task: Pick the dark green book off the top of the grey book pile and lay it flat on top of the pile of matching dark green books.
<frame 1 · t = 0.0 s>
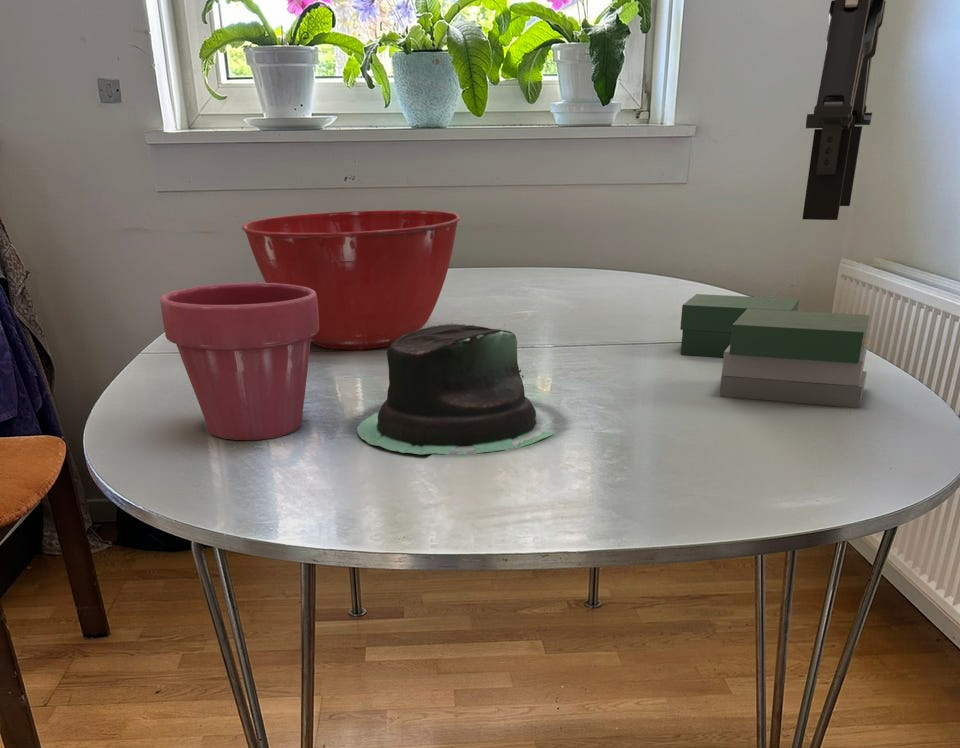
hand: (827, 212, 83), 19 cm above the table, tool pointing down, fingers open, 13 cm apart
grey pile: (790, 397, 101), on the table
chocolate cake: (459, 428, 93), on the table
green book: (797, 349, 98), point 5 cm above the table, touching grey pile
mixing bowl: (360, 341, 131), on the table
green pile: (738, 351, 121), on the table
flower pot: (256, 429, 94), on the table
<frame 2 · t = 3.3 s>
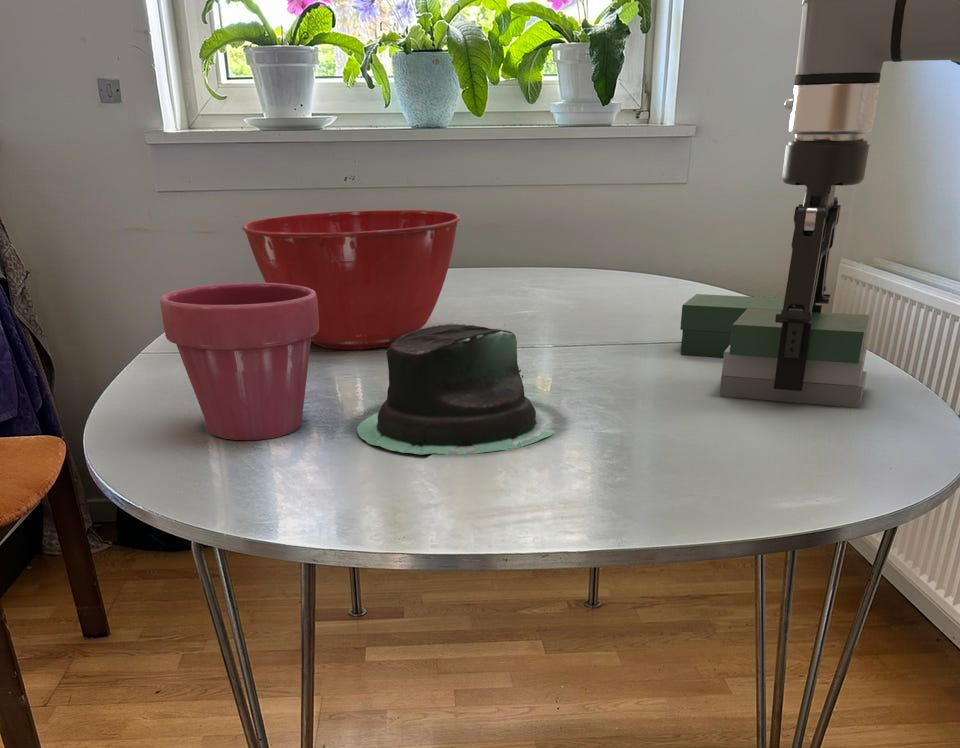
hand: (793, 377, 100), 2 cm above the table, tool pointing down, fingers closed on green book, 9 cm apart
green book: (797, 349, 98), point 5 cm above the table, touching grey pile, gripper
everything else where it was.
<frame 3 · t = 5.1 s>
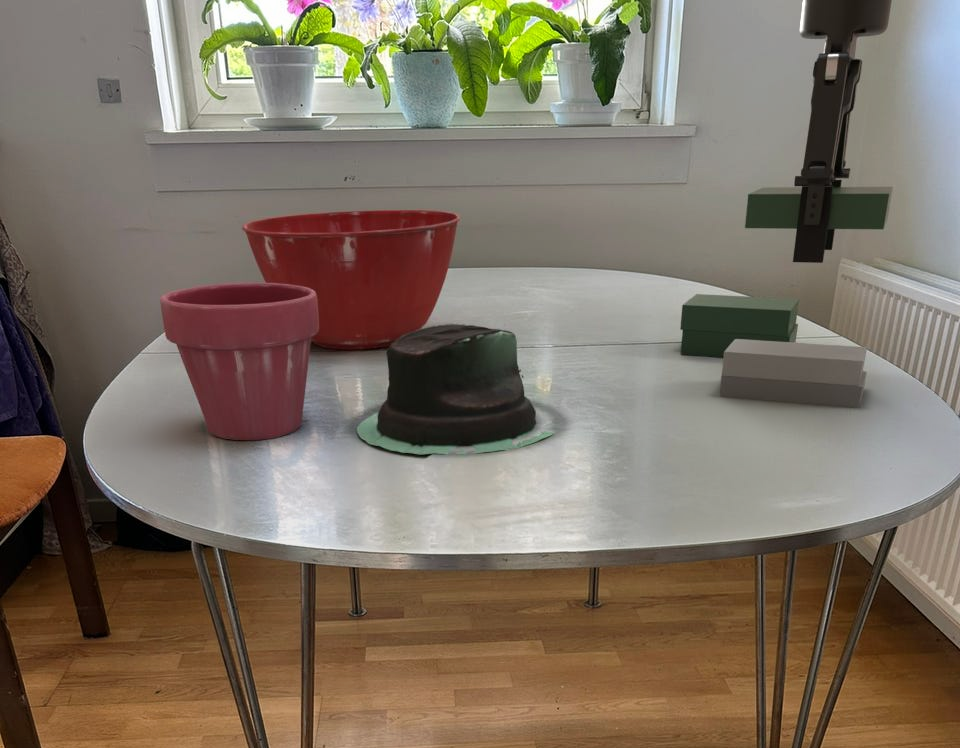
hand: (813, 255, 94), 14 cm above the table, tool pointing down, fingers closed on green book, 9 cm apart
green book: (817, 224, 93), point 17 cm above the table, touching gripper
everything else where it was.
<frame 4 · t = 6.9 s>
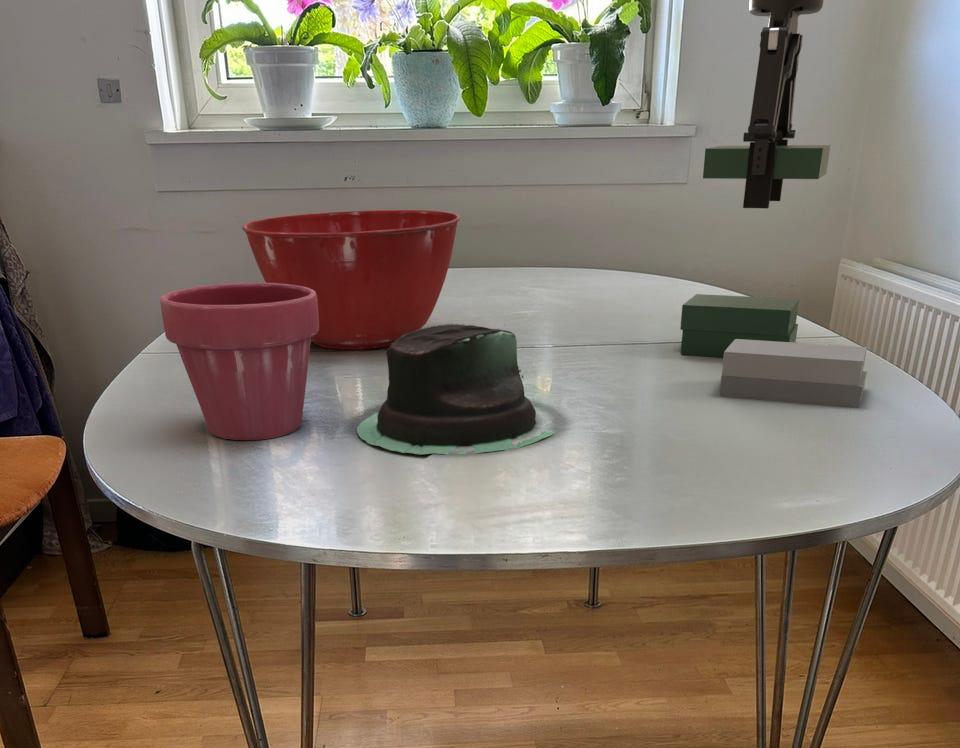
hand: (762, 204, 110), 17 cm above the table, tool pointing down, fingers closed on green book, 9 cm apart
green book: (765, 176, 108), point 20 cm above the table, touching gripper
everything else where it was.
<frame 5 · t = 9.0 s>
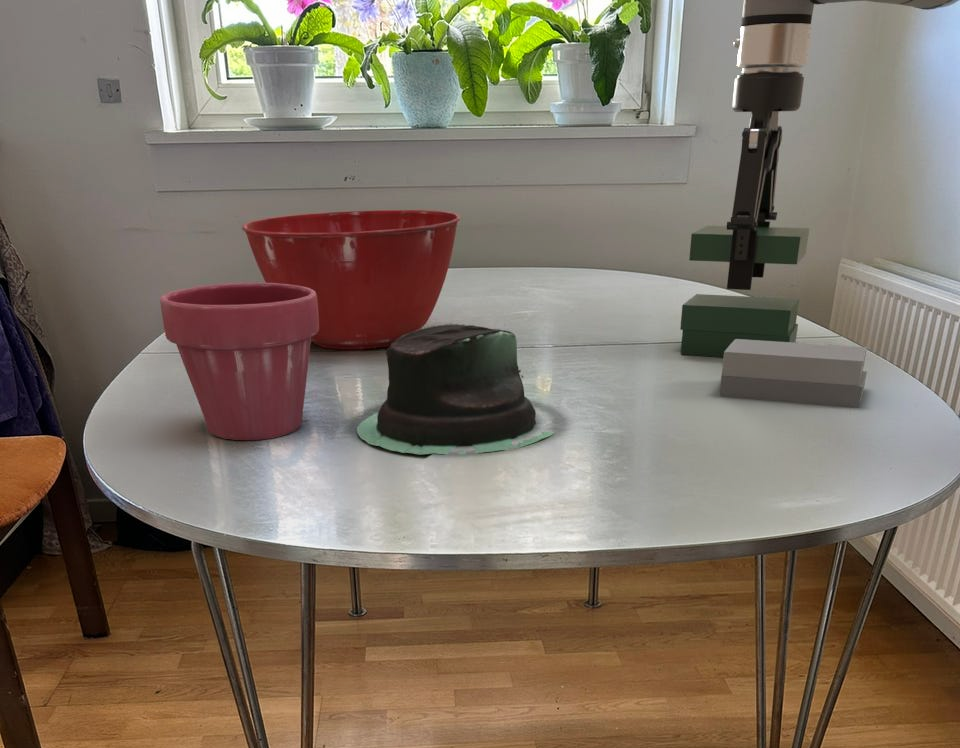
hand: (745, 282, 117), 8 cm above the table, tool pointing down, fingers closed on green book, 9 cm apart
green book: (748, 257, 115), point 11 cm above the table, touching gripper
everything else where it was.
when the fingers open (3 cm above the table, at t = 10.8 s): green book stays where it is, resting on green pile.
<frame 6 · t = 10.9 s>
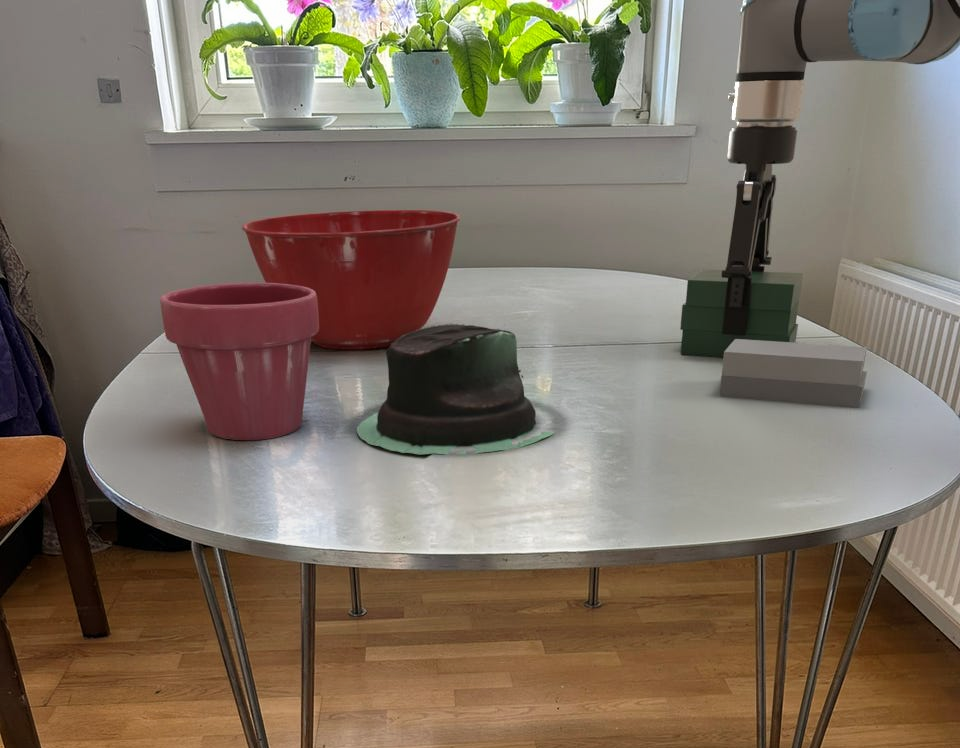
hand: (740, 326, 119), 3 cm above the table, tool pointing down, fingers open, 10 cm apart
green book: (743, 301, 118), point 6 cm above the table, touching green pile
everything else where it was.
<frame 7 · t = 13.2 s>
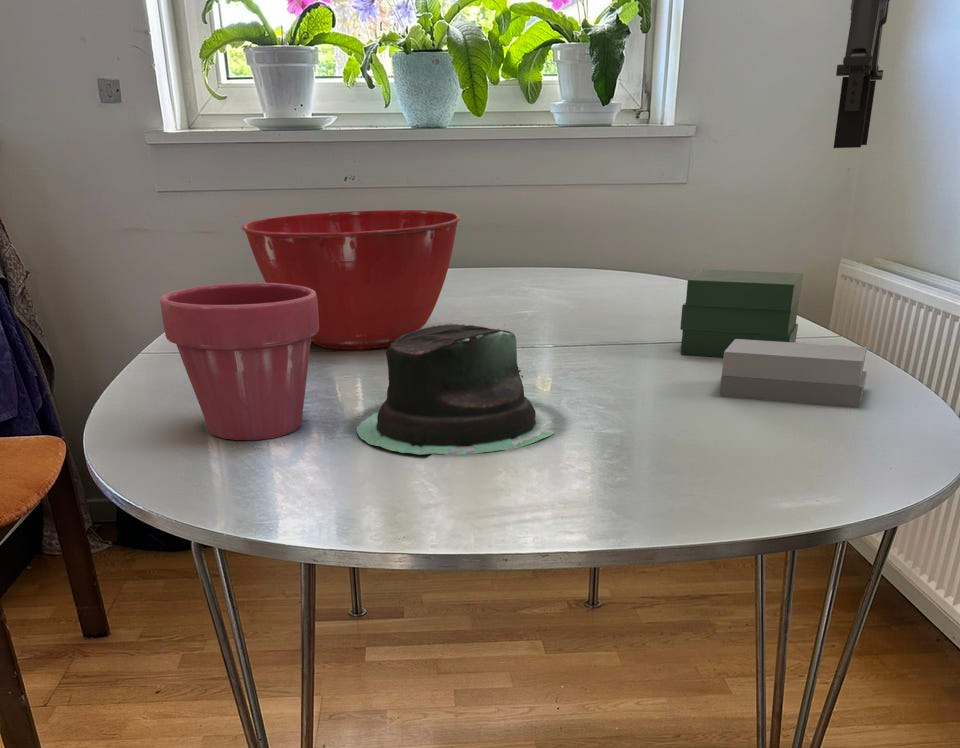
hand: (850, 146, 106), 23 cm above the table, tool pointing down, fingers open, 13 cm apart
nothing on the table moved.
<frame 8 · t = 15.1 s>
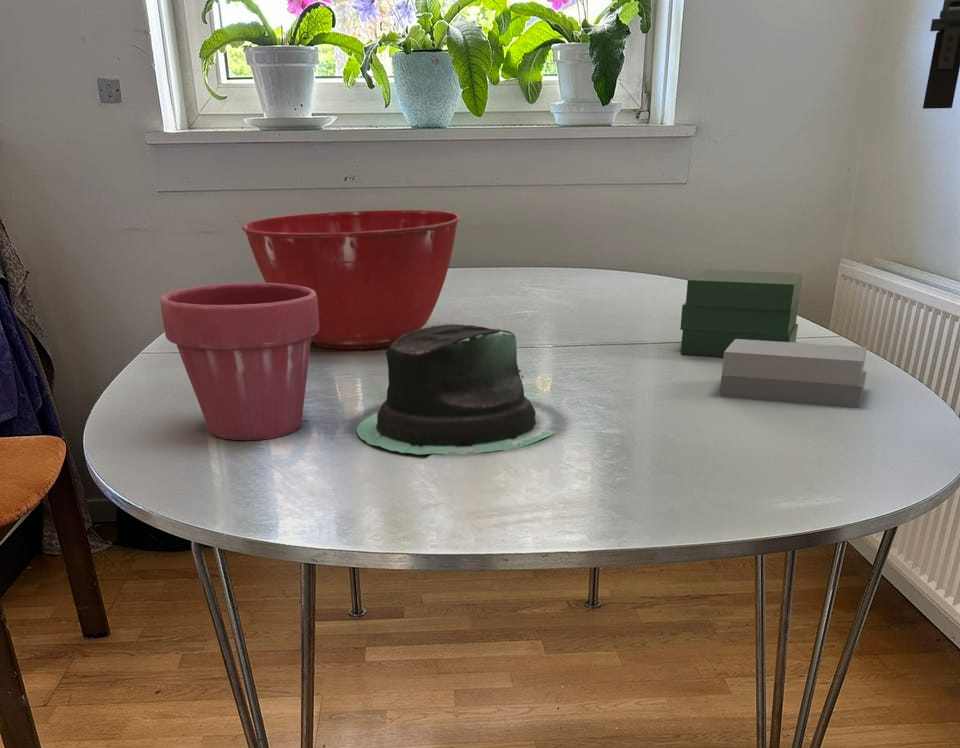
hand: (936, 108, 101), 27 cm above the table, tool pointing down, fingers open, 13 cm apart
nothing on the table moved.
at the end: green book 0.0 cm off-centre on the green pile, point 6.0 cm above the green pile's base; green book tilted 0° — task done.
